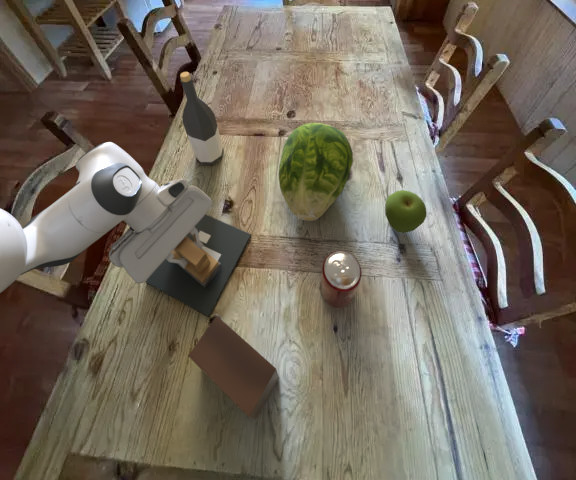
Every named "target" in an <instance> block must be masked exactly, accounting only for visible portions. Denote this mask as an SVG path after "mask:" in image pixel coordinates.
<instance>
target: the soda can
mask: <svg viewBox="0 0 576 480" xmlns="http://www.w3.org/2000/svg"><path fill="white" fill-rule="evenodd" d="M321 268H322V269H321V276H320V277H321V278H320V285H319V290H320V295H321V297H322V299H323V301H325V303H326V304H327V305H328V306H330V307H331V308H334V309H345V308H347V307H348V306H350V305H351V304H352V302H353V301H354V299H355V297H356V294H357V291H358V288H359V286H360V283H361V280H362V274H363V272H362V266H361V264H360V261H359V260H358V259H357V257H356V256H355V255H354V254H353V253H350V252H349V251H346V250H343V249H342V250H339V249H338V250H334V251H332V252H330V253H329V254H327V255H326V257H325V258H324V259H323V263H322V267H321Z"/></svg>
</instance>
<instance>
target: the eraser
mask: <svg viewBox="0 0 576 480" xmlns="http://www.w3.org/2000/svg"><path fill="white" fill-rule="evenodd" d="M171 253H172V254H173V255H174V257H173V258H176V259H179V258H180V257H181V256H183V257H184V258H185V259H186V260H187V261H188V262H189V263H188V265H187V266H186V267H185V268H183V269H184V270H185V271H186V272H187V273H188V274H189V275H191V276H192V277H193V278H194V279H195V280H196V281H197V282H199V283H200V284H201V285H202V286H203V287H204V288H206V286H207V285H208V284H209V283H210V281H211V280H212V279H213V277H214V276H215V275H216V274H217V272H218V271H219V270H220V268H221V267H222V265H221V263H219V262H218V261H217V260H216V259H214V258H213V257H212V256H211V255H209V254H208V253H207V252H206V251H204V250H203V249H202V248H201V249H199V248H198V247H197V246H196V245H195V244H193V241H192V240H191V239H190V238H188V237H187V236H186V237H185V238H184V239H183V240H182V241H181V242H180V243H179V244H178V246H177V247H176V248H175V249H174V250H173V251H172V252H171ZM177 264H178V263H177ZM178 265H179V264H178ZM179 266H180V265H179ZM180 267H181V266H180ZM181 268H182V267H181Z"/></svg>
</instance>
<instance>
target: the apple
mask: <svg viewBox="0 0 576 480" xmlns="http://www.w3.org/2000/svg"><path fill="white" fill-rule="evenodd" d="M384 209H385V217H386V220H387V222H388V225H389V227H391V229H392V230H393V231H395V232H397V233H399V234H407V233H410V232H414V231H415V230H416V229H418V228H419V227H420V226H421V225H422V224H424V223H425V220H426V218H427V207H426V204H425V202H424V201H423V199H422V198H421V197H420V196H419V195H418V194H416V193H415V192H413V191H410V190H405V189H402V190H396V191H394V192H393V193H392V194H390V195H388V196H387V199H386V200H385V208H384Z"/></svg>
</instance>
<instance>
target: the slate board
mask: <svg viewBox="0 0 576 480" xmlns="http://www.w3.org/2000/svg"><path fill="white" fill-rule="evenodd" d="M195 228H196V229H197V230H198V235H199V241H200V242H201V243H202V244H203V245H204V246H203V247H202V249H203V250H204V251H206V252H207V253H208V254H209V255H211V256H212V257H213V258H214V259H216V260H217V261H218V262H219V263H221V265H222V267H221V268H220V270H219V271H218V272H217V274H216V275H215V276H214V277H213V279H212V280H211V281H210V283H209V284H208V285H207V286H206V288H204V287H203V286H202V285H201V284H200V283H199V282H197V281H196V280H195V279H194V278H193V277H192V276H191V275H189V274H188V273H187V272H186V271H185V270H184V269H183V268H181V267H180V266H179V265H178V264H177V263H172V262H168V261H167V260H166V259H165V260H164V261H163V262H162V263H161V264H160V266H159V267H158V268H157V269H156V270H155V271H154V272H153V273H152V274H151V276H150V277H149V278H148V279H147V280H146V281H145V283H146V284H148V285H149V286H151V287H153V288H155V289H157V290H159V291H160V292H162V293H164V294H165V295H168V296H169V297H171V298H173V299H175V300H176V301H178V302H180V303H182V304H184V305H186V306H188V308H189V307H190V309H193V310H195V311H197V312H198V313H201V314H202V315H203V316H206V317H207V318H210V316H211V315H212V313H213V312H214V309H215V307H216V305H217V303H218V301H219V299H220V297H221V295H222V293H223V291H224V289H225V288H226V286H227V284H228V282H229V280H230V278H231V276H232V274H233V272H234V270H235V269H236V266H237V265H238V263H239V261H240V258H241V257H242V254H243V253H244V251H245V249H246V247H247V245H248V243H249V241H250V239H251V238H252V233H249V232H248V231H244V230H242V229H241V228H238V227H236V226H234V225H231V224H229V223H226V222H225V221H222V220H220V219H217V218H216V217H213V216H212V215H208V214H207V213H206V214H205V215H204V217H203V218H202V219H201V220H200V221H199V222H198V223H197V224H196V225H195ZM186 236H187V237H188V238H190V239H191V240H192V241H193V242H194V240H193V236H192V235H191V234H189V233H188V234H187V235H186Z"/></svg>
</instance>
